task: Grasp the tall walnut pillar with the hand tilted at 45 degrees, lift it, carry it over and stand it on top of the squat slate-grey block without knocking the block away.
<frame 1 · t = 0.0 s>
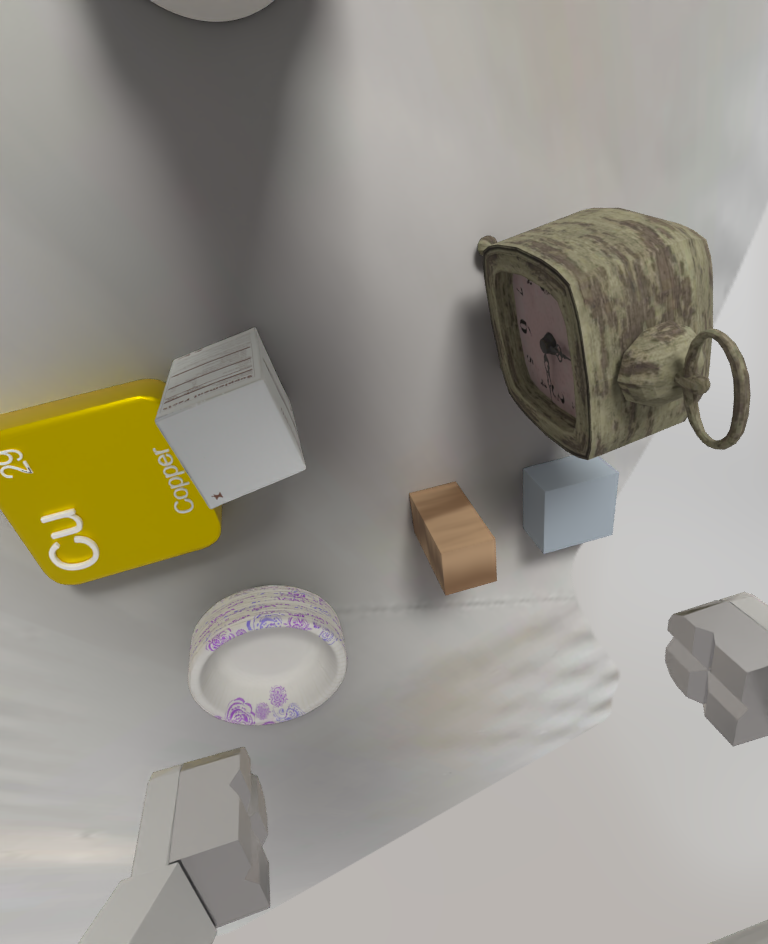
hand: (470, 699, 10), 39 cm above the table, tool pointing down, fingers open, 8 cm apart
walnut pillar: (434, 507, 57), on the table
tabletop clock: (522, 295, 48), on the table
element tile: (115, 471, 47), on the table
paper bowls: (266, 617, 59), on the table
slate block: (555, 489, 60), on the table
supplement box: (233, 379, 46), on the table
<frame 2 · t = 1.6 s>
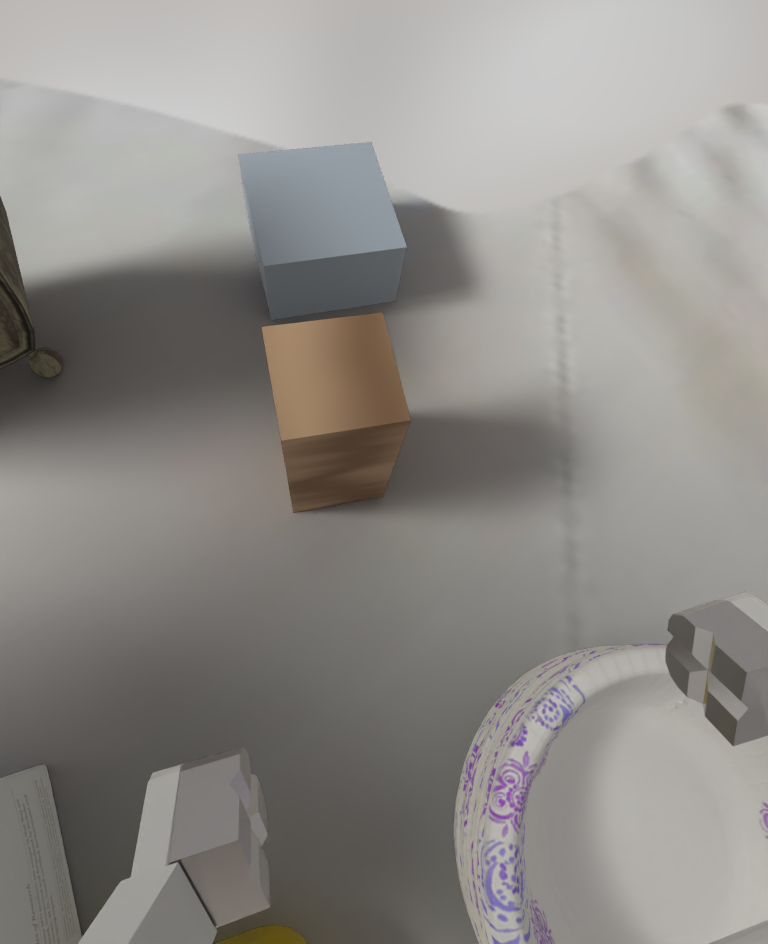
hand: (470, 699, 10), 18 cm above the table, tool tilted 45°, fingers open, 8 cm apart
walnut pillar: (330, 462, 31), on the table
paper bowls: (590, 813, 26), on the table
slate block: (320, 261, 36), on the table
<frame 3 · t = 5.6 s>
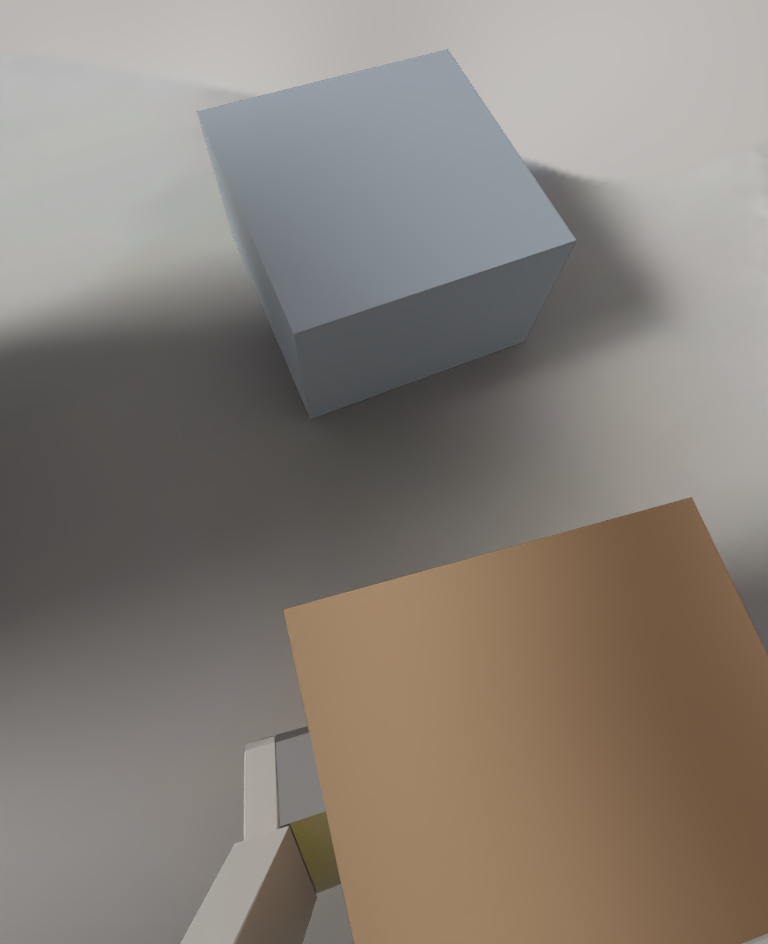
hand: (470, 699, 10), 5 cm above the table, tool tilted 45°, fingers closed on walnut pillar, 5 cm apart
walnut pillar: (439, 713, 15), on the table, touching gripper
slate block: (375, 291, 20), on the table
when the fingers open (12 cm above the table, at t = 10.6 s): walnut pillar drops 2 cm, point 5 cm above the table.
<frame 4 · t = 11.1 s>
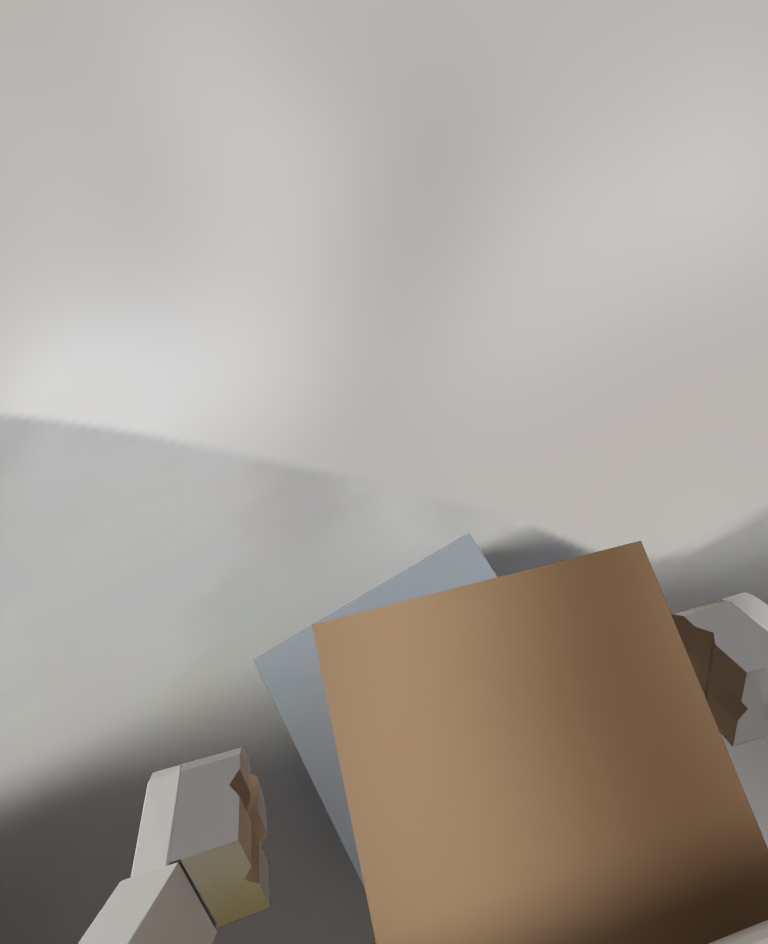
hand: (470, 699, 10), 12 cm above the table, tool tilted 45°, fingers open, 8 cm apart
walnut pillar: (435, 711, 16), point 5 cm above the table
slate block: (415, 700, 21), on the table
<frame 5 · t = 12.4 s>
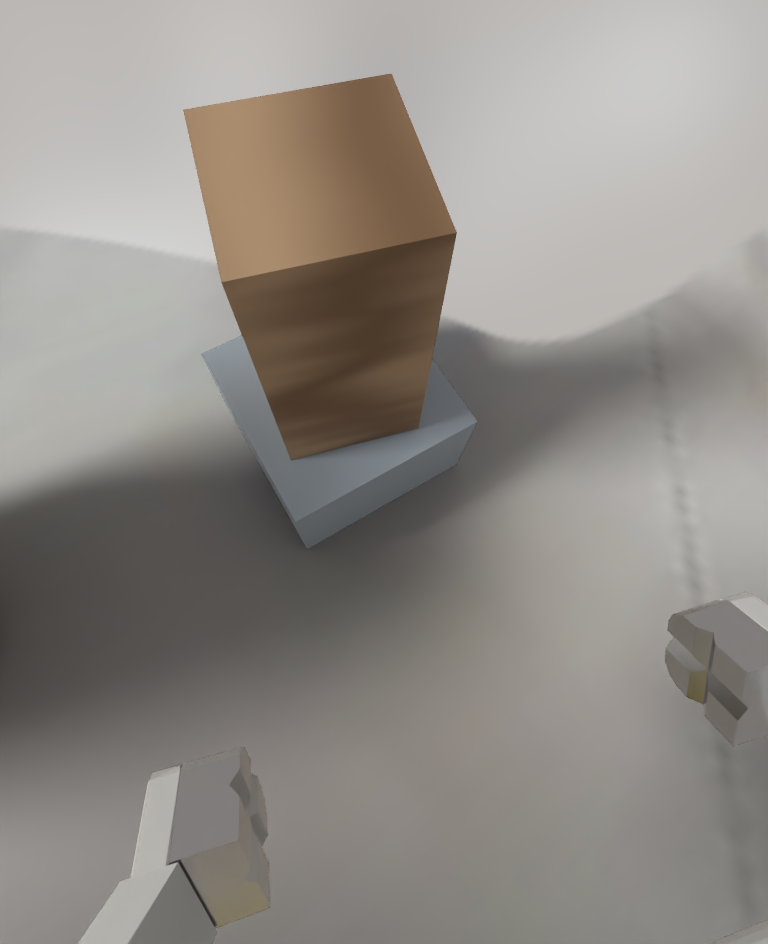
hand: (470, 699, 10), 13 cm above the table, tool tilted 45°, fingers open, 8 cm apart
walnut pillar: (339, 387, 21), point 5 cm above the table
slate block: (341, 437, 26), on the table
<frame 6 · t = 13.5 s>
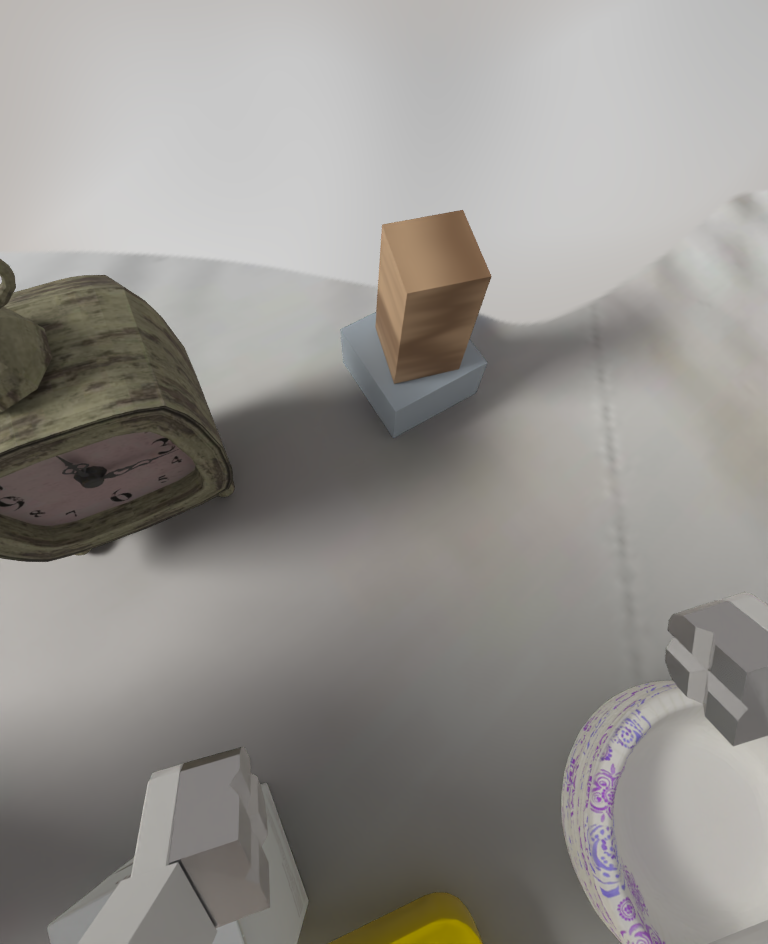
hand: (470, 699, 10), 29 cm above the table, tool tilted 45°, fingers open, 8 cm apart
walnut pillar: (416, 347, 41), point 5 cm above the table
tabletop clock: (148, 486, 42), on the table
paper bowls: (659, 804, 35), on the table
slate block: (408, 379, 45), on the table
supplement box: (233, 867, 34), on the table
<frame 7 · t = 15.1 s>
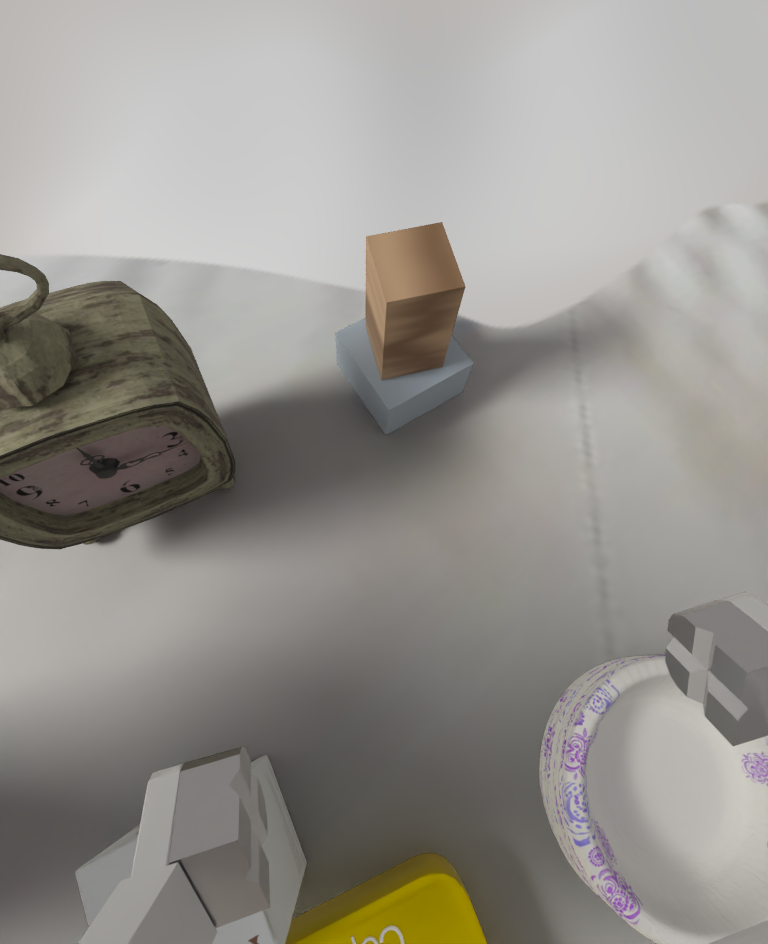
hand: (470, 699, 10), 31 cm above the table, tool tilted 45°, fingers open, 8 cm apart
walnut pillar: (403, 346, 43), point 5 cm above the table
tabletop clock: (152, 479, 44), on the table
paper bowls: (629, 771, 38), on the table
slate block: (399, 379, 48), on the table
supplement box: (236, 833, 36), on the table
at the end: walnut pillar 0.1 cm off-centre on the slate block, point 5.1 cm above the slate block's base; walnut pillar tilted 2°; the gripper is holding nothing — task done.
